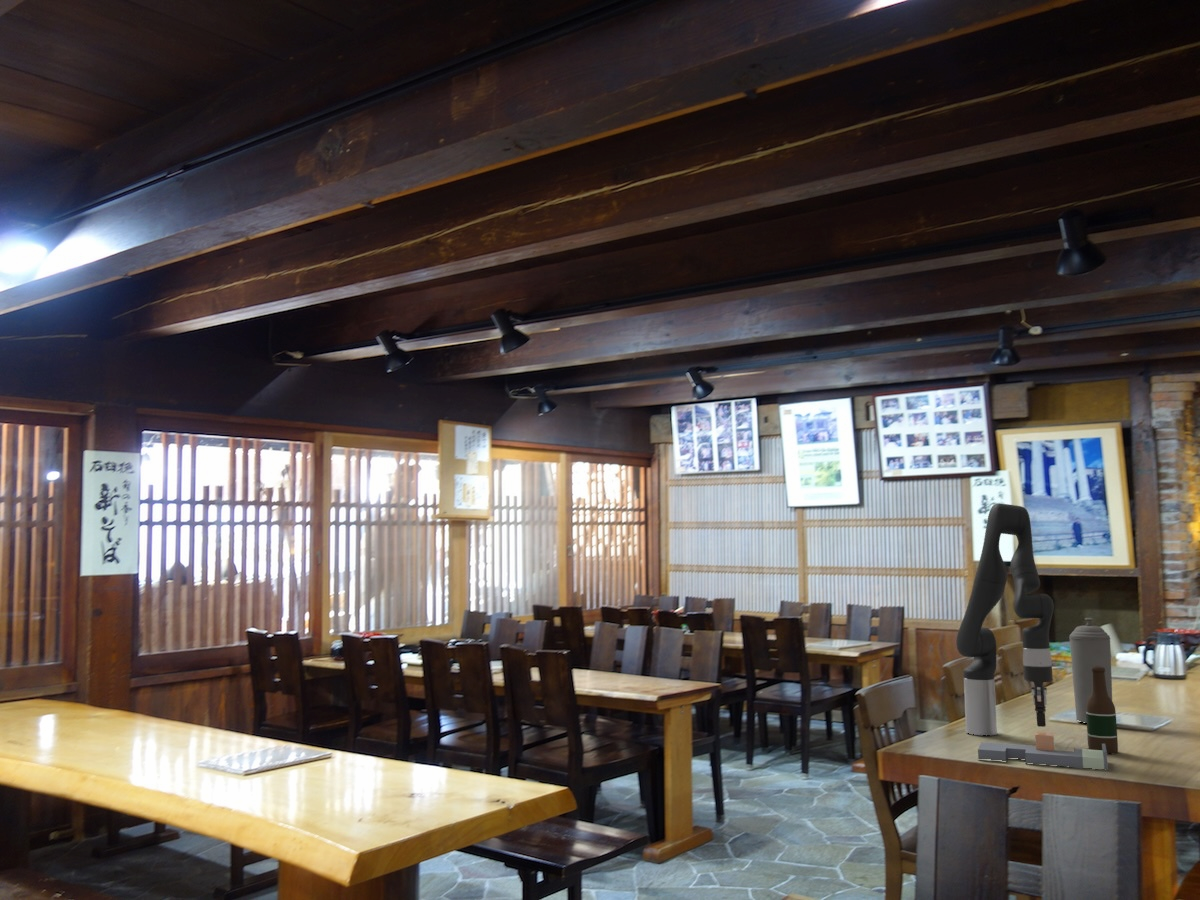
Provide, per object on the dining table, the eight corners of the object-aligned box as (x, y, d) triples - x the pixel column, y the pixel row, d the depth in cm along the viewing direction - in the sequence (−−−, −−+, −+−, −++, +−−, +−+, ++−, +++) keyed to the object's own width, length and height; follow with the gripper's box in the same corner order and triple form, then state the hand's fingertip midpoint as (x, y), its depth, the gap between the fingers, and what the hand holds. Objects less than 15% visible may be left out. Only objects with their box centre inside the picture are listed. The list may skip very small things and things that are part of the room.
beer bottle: (1124, 753, 278) (1119, 667, 281) (1099, 754, 277) (1094, 668, 280) (1106, 748, 286) (1101, 665, 289) (1082, 749, 285) (1077, 665, 287)
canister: (1082, 718, 338) (1076, 616, 342) (1122, 723, 329) (1115, 617, 333) (1067, 723, 330) (1061, 618, 334) (1107, 727, 321) (1100, 619, 324)
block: (1036, 746, 274) (1035, 732, 274) (1054, 748, 272) (1053, 733, 272) (1036, 749, 270) (1035, 734, 270) (1054, 750, 268) (1053, 735, 268)
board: (981, 752, 281) (981, 735, 281) (1106, 761, 267) (1105, 743, 268) (978, 760, 270) (977, 742, 271) (1107, 770, 257) (1106, 751, 257)
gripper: (1051, 666, 273) (1056, 730, 271) (1051, 662, 285) (1056, 723, 283) (1022, 665, 276) (1026, 728, 274) (1023, 661, 288) (1027, 722, 286)
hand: (1041, 726), depth 278 cm, fingers closed
